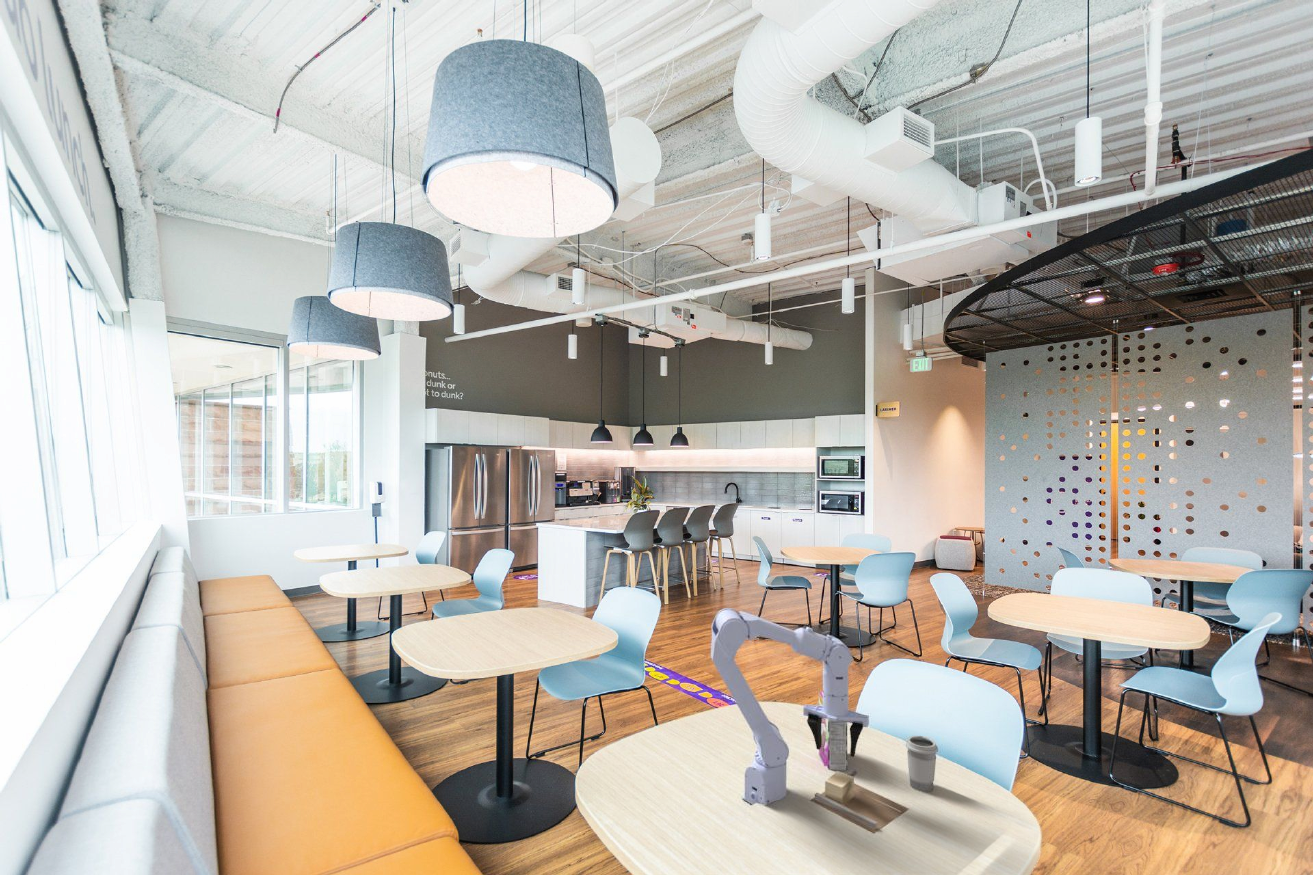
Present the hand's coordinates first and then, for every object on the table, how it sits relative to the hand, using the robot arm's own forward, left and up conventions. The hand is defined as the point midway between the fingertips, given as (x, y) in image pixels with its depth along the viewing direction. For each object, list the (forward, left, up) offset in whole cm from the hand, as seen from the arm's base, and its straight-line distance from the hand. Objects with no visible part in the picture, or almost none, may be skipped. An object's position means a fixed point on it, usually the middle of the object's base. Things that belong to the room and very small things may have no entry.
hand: (835, 751), depth 152 cm
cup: (+17, -12, -11) cm, 23 cm away
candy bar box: (+12, +9, -11) cm, 18 cm away
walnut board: (-1, -7, -10) cm, 12 cm away
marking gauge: (0, -3, -9) cm, 9 cm away
